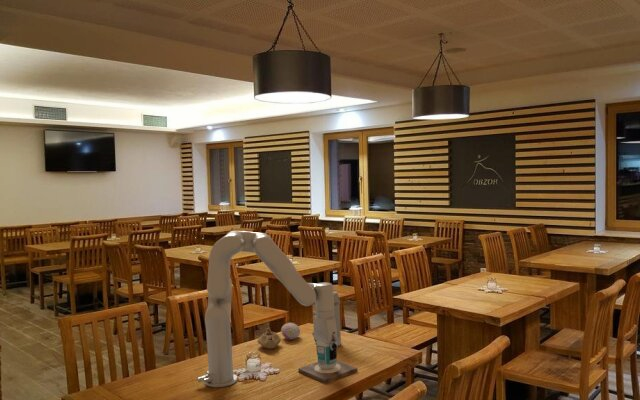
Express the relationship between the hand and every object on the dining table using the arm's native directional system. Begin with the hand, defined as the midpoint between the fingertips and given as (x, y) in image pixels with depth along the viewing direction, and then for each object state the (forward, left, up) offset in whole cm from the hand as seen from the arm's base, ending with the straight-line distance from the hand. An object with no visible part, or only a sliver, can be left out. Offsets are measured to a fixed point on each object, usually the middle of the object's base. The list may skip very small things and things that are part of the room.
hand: (326, 356), depth 210 cm
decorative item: (+16, +47, -7) cm, 50 cm away
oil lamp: (+1, +43, -7) cm, 43 cm away
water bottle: (+23, +23, -7) cm, 33 cm away
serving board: (0, 0, -6) cm, 6 cm away
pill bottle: (0, 0, -4) cm, 4 cm away
